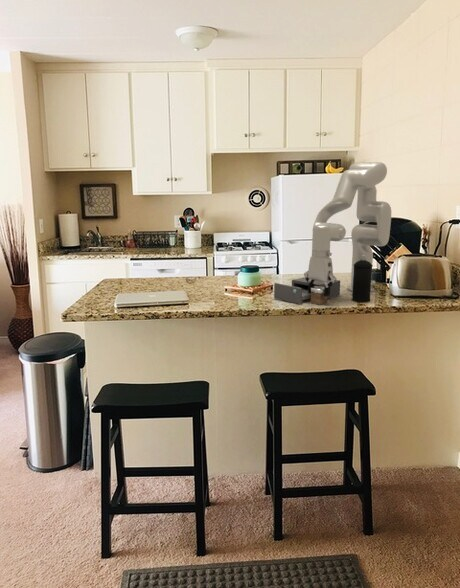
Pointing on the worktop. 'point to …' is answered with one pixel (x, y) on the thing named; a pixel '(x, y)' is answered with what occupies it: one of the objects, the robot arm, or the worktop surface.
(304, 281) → the grey drawer box
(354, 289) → the aerosol can
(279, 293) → the grey drawer
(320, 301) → the walnut block
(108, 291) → the worktop surface
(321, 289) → the disc
